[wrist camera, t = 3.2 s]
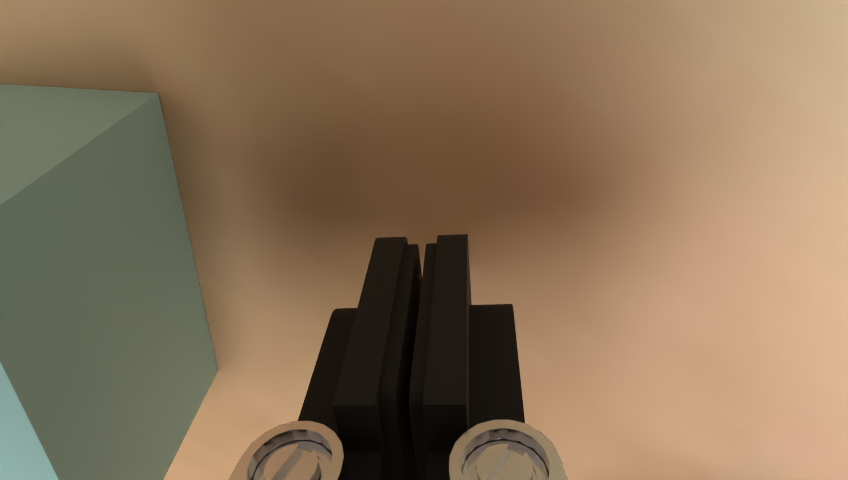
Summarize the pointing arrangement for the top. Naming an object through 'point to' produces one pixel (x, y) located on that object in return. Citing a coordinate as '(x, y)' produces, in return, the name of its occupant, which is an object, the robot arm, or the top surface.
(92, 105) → the teal block
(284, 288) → the top surface
